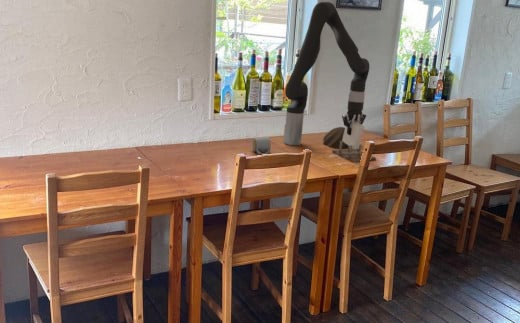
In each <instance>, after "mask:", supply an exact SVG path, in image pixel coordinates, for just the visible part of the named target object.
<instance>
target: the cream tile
mask: <svg viewBox="0 0 520 323" xmlns="http://www.w3.org/2000/svg"><path fill="white" fill-rule="evenodd" d="M350 121H351V120H350ZM360 123H361V122H360ZM360 123H358V122H356V121H354V123H353V124H352V131H351V135H348V134H347V126H344V128H345V131H344V135H343V139H342V141H343V142H344V143H346V144H347V145H349V146H350V145H352V148H353V149H359V146H360V145H361V142H362V141H361V140H362V137H363V134H364V129H365V125H364V124H362V125H361V124H360Z"/></svg>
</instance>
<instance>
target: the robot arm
mask: <svg viewBox="0 0 520 323" xmlns="http://www.w3.org/2000/svg"><path fill="white" fill-rule="evenodd" d="M325 24H327V25H328V26H329V28H330V29H331V31H332V32H333V33H332V34H334V39H335V42H336V44H337V47H338V48H339V50H340V51H341V53H342V54H343V55H344V57H345V58H346V62H347V64H348V67H349V68H350V70H351V71H352V72H353V73H354V76H353V78H352V79H351V80H350V85H349V86H350V89H349V94H348V98H347V99H348V100H347V113H346V114H343V115H342V116H341V118H342V122H343V125H344V127H345V126H347V134H348V135H351V131H352V124H353V123H354V121H356V122H358V123H360V124H361V125H364V122H365V120H366V118H367V114H363V110H364V104H365V94H366V92H365V91H366V82H367V79H368V76H369V72H370V62H369V60H368V59H367V58H365V57H364V58H363V57H361V55H360V53H359V48H358V47H357V45H356V44H355V42H354V40H353V38H352V37H351V36H350V35H349V32H348V31H347V29H346V27H345V25H344V23H343V21H342V19H341V17H340V15H339V13H338V10H337V9H336V6H335V5H334V3H332V2H330V1H321V2H318V3H316V4H315V5H314V6H313V8H312V12H311V15H310V19H309V23H308V28H307V31H306V33H305V36H304V39H303V42H302V44H301V47H300V49H299V54H298V56H297V60H296V62H295V65H294V68H293V71H292V73H291V74H290V76H289V79H288V81H287V83H286V86H285V89H284V92H285V97H286V98H287V99H288V100H290V101H291V102H290V103H289V104H288V105H287V107H286V115H285V124H284V129H283V130H284V132H283V143H284V144H286V145H289V146H300V145H301V144H302V137H303V127H304V126H303V125H304V118H305V117H304V115H305V109H306V107H307V101H308V94H309V86H308V85H307V84H306V82H304V81H303V80H304V78H305V76H306V75H307V74H308V72H309V71H310V70H311V69H312V67H313V66H315V63H316V62H317V59H318V57H319V54H320V51H321V36H322V31H323V29H324V27H325ZM350 120H351V121H350Z"/></svg>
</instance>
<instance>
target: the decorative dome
mask: <svg viewBox="0 0 520 323" xmlns="http://www.w3.org/2000/svg"><path fill="white" fill-rule="evenodd" d="M344 131H345V126H344V127H343V126H339V127H335V128H332V129H331V130H330V131H329V132H327V134H325V135H324V137H323V139H322V140H323V143H322V145H324V146H327V147H329V148H331V149H332V148H333V149H336V150H339V147H340V141H342V139H343V135H344ZM348 146H349V145H347V144H346V143H344V142H342V149H348Z"/></svg>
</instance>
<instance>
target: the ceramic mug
mask: <svg viewBox="0 0 520 323" xmlns="http://www.w3.org/2000/svg"><path fill="white" fill-rule="evenodd" d="M251 147H252V150H253V152H255V153H257V154H258V155H260V154H267V155H269V153H270V152H271V149H272V148H271V147H272V146H271V138H270V137H269V136H261V137H254V138H253V139H252V146H251ZM260 156H261V155H260Z"/></svg>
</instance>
